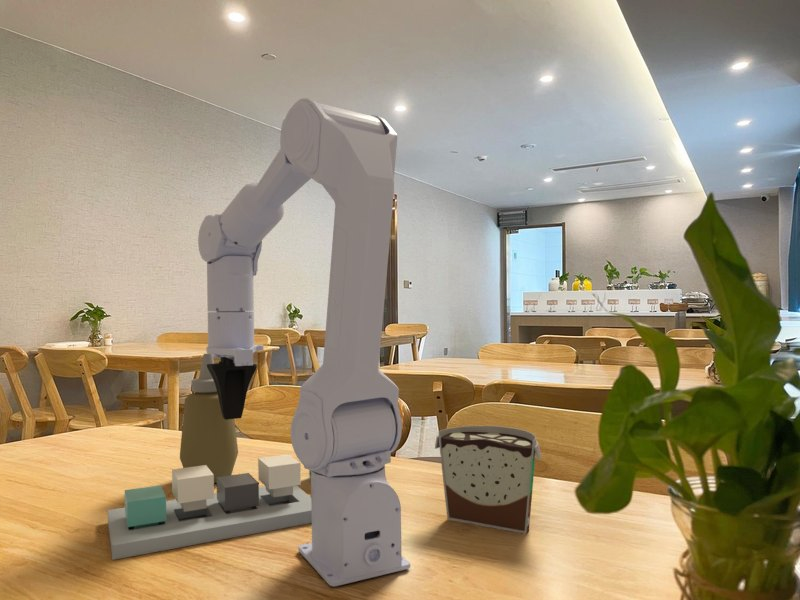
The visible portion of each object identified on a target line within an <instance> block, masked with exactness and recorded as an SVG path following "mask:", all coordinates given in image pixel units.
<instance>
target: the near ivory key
mask: <svg viewBox="0 0 800 600" xmlns="http://www.w3.org/2000/svg"><path fill="white" fill-rule="evenodd" d="M257 460H258V461H257V463H258V464H257V466H258V469H257V470H258V471H257V475H258V477H257V478H258V481H259V482H261V484H263V485H264V486H266V491H267V492H268V493H269V494H270V495H272V496H273V497H279V496H285V495H292V494H293V486H296V485H297V486H300V485H302V483H301V482H302V481H301V475H302V474H301V461H298V460H297V459H296V458H294V457H293V456H291V455H290V454H289V453H287V454H281V455H273V456H265V457H258V459H257Z"/></svg>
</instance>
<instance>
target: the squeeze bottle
mask: <svg viewBox="0 0 800 600" xmlns="http://www.w3.org/2000/svg"><path fill="white" fill-rule="evenodd" d="M214 359H215V358H213V354H207V353H203V355H202V361H201V366H200V369H199V370H200V371H199V375H198V378H193V379H191V382H190V383H191V392H192V393H191V394H188V395H187V396H186V397H184V403H183V405H184V406H183V414H182V415H183V417H182V425H181V426H182V427H181V437H180V449H179V450H180V451H179V460H180V462H181V465H182V468H187V467H195V466H202V465H206V466H207V467H208V468H209V469H210V471H211V472H212V473H213V474H214V484H217V477H223V476H230V475H233V470H234V467H235V465H236V461H237V458H238V456H239V449H238V438H237V429H236V422H235V419H227V420H225V419H224V418H223V416H222V412H221V408H220V403H219V398H218V394H217V390H216V386H215V383H214V380H213V378H212V376H211V374H210V372H209V370H208V368H207V364H215V360H214Z"/></svg>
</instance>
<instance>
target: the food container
mask: <svg viewBox="0 0 800 600" xmlns="http://www.w3.org/2000/svg"><path fill="white" fill-rule="evenodd" d="M434 449H439V452H440V453H439V454H440V462H441V471H442V472H441V473H442V481H443V489H444V490H443V491H444V500H445V507H446V508H445V510H446V518H447V520H448V521H449V520H450V521H453V522H460V523H464V524H465V523H466V524H469V525H476V526H482V527H486V528H492V529H498V530H502V531H503V530H504V531H509V532H514V533H519V534H525V535H527V534H528V532H529V531H530V523H531V522H530V521H531V513H532V511H531V510H532V501H533V500H532V499H533V487H534V476H535V463H536V461H537V462H538V461H540V460H541V459H542V453H541V449H540V443H539V441H538V440H537V437H536V435H535V434H534V433H533V432H530V431H528V430H525V429H521V428H516V427H508V426H496V425H465V426H455V427H449V428H445V429H441V430H438V435H436V439H435V445H434Z"/></svg>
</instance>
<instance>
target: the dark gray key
mask: <svg viewBox="0 0 800 600" xmlns="http://www.w3.org/2000/svg"><path fill="white" fill-rule="evenodd" d="M259 483H260V482H259V481H257V480H256V479H255V478H254V476H253V475H251V474H250V472H245V473H238V474H231V475H230V476H223V477H217V483H216V493H217V500H218V501H219V503H220V504H221V506H222V507H223V509H224V510H225V512H226V513H227V514H229V513H235V512H241V511H247V510H251V507H253V506H259V487H260V485H259Z"/></svg>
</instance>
